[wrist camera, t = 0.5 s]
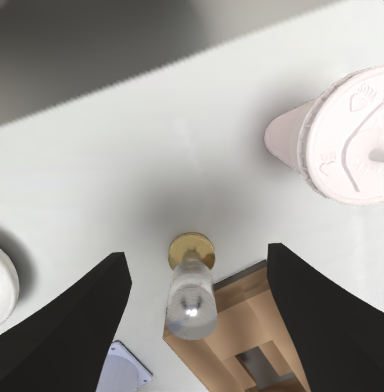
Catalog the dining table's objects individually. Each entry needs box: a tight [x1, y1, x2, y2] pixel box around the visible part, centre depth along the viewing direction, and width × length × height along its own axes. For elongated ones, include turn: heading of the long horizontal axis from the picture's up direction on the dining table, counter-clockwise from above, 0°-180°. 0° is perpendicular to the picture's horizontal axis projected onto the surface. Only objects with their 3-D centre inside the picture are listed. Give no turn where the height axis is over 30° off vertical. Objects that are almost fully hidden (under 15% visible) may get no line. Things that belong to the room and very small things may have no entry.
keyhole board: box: [163, 260, 311, 392], centre depth 25 cm, size 13×22×4 cm, turn 31°
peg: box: [166, 233, 218, 340], centre depth 18 cm, size 5×5×8 cm
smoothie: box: [264, 65, 384, 206], centre depth 12 cm, size 6×6×14 cm
